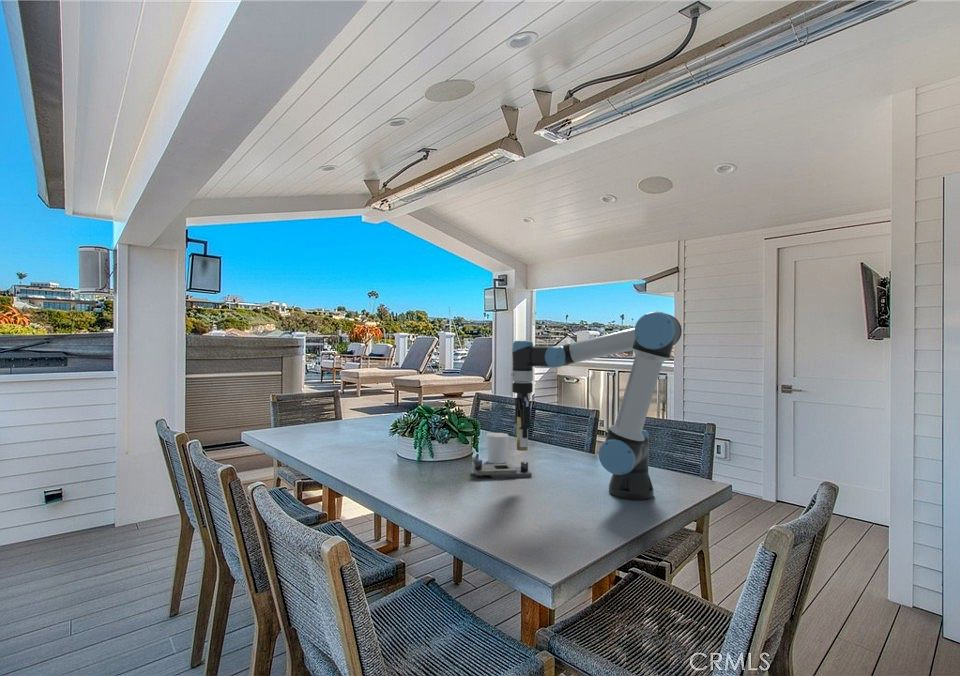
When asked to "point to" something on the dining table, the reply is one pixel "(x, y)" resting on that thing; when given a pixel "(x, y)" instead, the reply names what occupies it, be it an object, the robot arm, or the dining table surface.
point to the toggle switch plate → (501, 470)
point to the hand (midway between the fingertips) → (522, 445)
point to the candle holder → (497, 447)
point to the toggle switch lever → (519, 435)
